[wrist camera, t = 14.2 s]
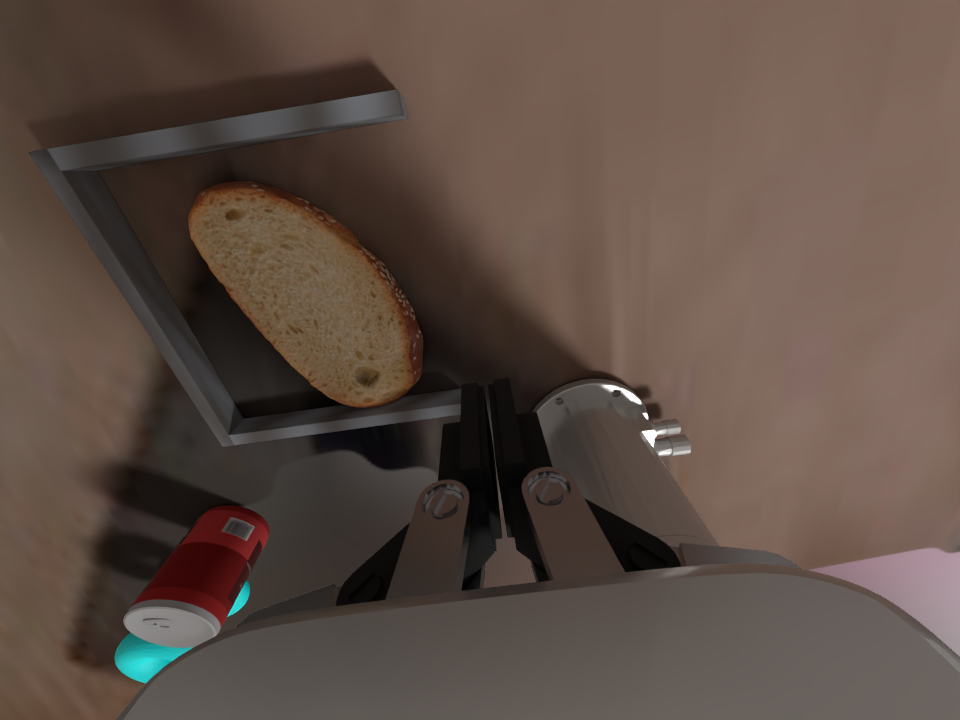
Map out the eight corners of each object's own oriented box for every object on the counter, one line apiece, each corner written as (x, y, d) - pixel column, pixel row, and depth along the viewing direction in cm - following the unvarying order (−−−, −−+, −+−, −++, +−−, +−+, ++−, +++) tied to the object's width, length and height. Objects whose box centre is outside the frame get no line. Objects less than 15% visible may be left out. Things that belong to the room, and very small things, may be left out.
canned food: (191, 503, 41) (105, 608, 31) (261, 502, 41) (198, 605, 31) (214, 545, 44) (144, 650, 35) (279, 543, 44) (227, 647, 35)
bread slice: (187, 168, 25) (145, 169, 22) (440, 215, 27) (436, 222, 24) (228, 380, 33) (202, 403, 30) (418, 403, 35) (413, 427, 32)
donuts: (121, 689, 41) (93, 647, 36) (182, 596, 49) (166, 553, 45) (214, 692, 42) (198, 652, 37) (258, 601, 51) (249, 559, 46)
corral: (403, 96, 23) (396, 89, 21) (463, 398, 35) (463, 414, 33) (68, 153, 24) (28, 152, 22) (237, 429, 36) (222, 446, 33)
